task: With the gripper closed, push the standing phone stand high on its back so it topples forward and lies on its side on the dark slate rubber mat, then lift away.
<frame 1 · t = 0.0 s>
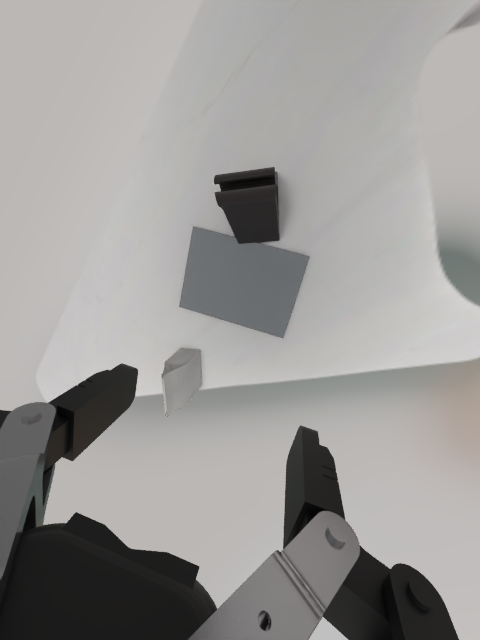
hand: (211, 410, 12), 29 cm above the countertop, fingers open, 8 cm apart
phone stand: (257, 210, 36), on the countertop, touching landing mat
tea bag: (192, 365, 46), on the countertop
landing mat: (239, 283, 40), on the countertop
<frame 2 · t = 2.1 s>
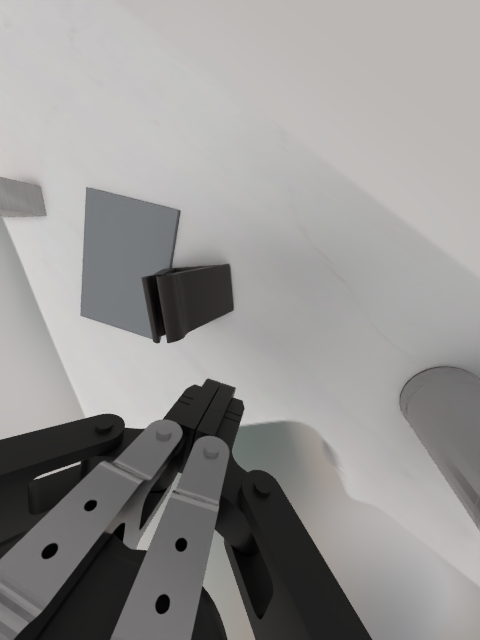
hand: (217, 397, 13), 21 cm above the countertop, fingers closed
phone stand: (199, 289, 34), on the countertop, touching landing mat
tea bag: (25, 202, 36), on the countertop
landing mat: (126, 268, 35), on the countertop
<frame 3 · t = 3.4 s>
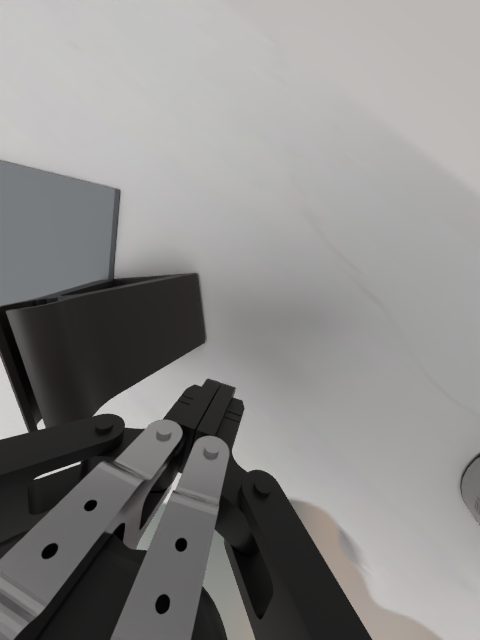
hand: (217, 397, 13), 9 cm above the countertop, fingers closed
phone stand: (154, 310, 22), on the countertop, touching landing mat
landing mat: (50, 277, 24), on the countertop
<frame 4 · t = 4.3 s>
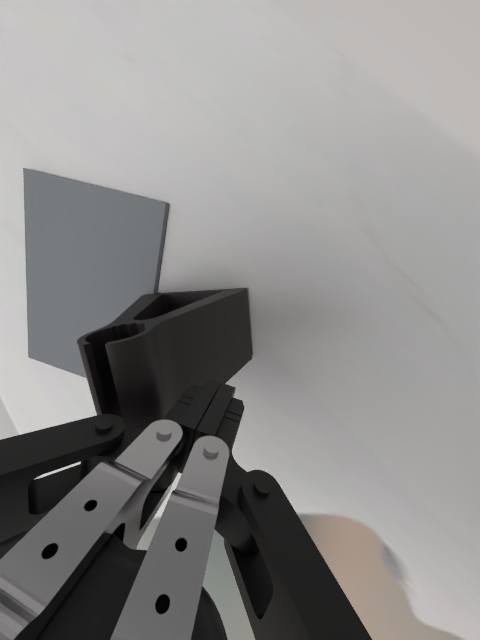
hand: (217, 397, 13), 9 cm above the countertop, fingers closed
phone stand: (199, 324, 22), on the countertop, touching gripper, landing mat
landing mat: (91, 291, 23), on the countertop
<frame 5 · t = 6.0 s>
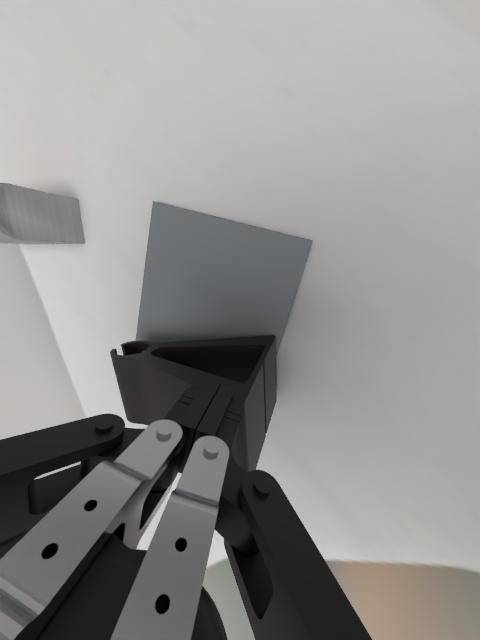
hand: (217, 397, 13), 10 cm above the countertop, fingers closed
phone stand: (267, 400, 17), point 5 cm above the countertop, touching gripper, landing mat
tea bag: (54, 223, 24), on the countertop
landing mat: (208, 325, 23), on the countertop
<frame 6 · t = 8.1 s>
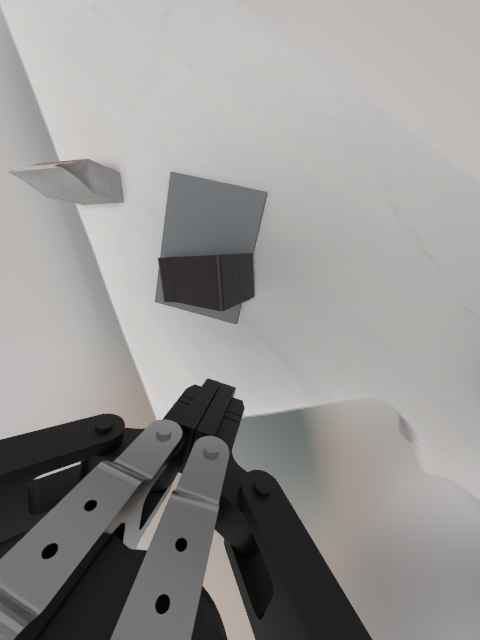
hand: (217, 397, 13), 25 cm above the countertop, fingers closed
phone stand: (241, 279, 31), point 5 cm above the countertop, touching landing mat
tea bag: (101, 189, 36), on the countertop
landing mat: (206, 252, 36), on the countertop
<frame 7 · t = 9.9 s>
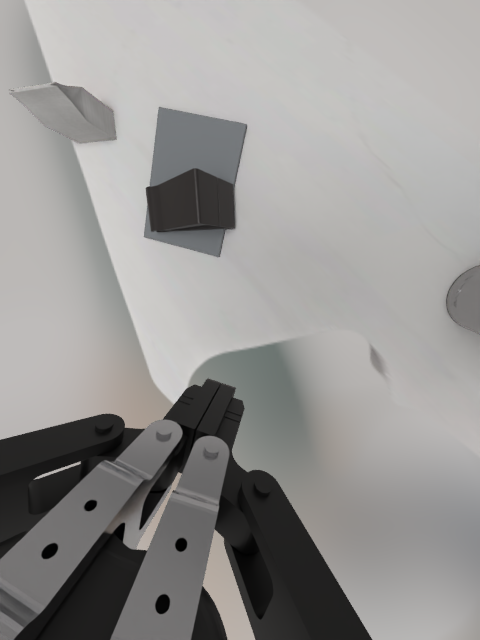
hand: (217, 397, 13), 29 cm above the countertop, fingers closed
phone stand: (219, 202, 33), point 5 cm above the countertop, touching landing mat
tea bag: (96, 128, 39), on the countertop
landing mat: (191, 186, 38), on the countertop
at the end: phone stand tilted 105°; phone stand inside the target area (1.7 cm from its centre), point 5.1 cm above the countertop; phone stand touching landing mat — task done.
